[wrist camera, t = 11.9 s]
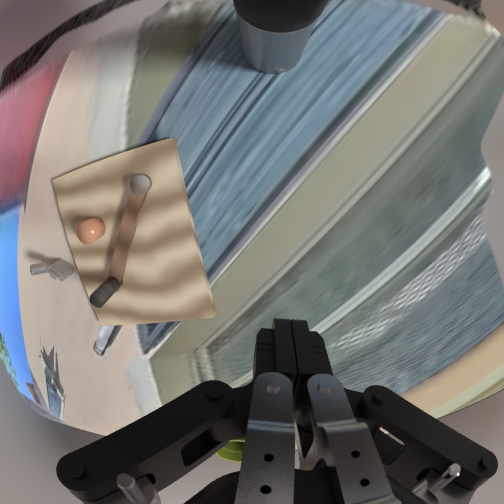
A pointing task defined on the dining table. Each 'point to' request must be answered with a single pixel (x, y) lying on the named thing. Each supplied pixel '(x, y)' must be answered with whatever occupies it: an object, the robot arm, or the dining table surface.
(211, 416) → the robot arm
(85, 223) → the peach rounded cube
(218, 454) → the plant pot
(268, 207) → the dining table surface
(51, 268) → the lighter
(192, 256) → the board
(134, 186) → the lever
